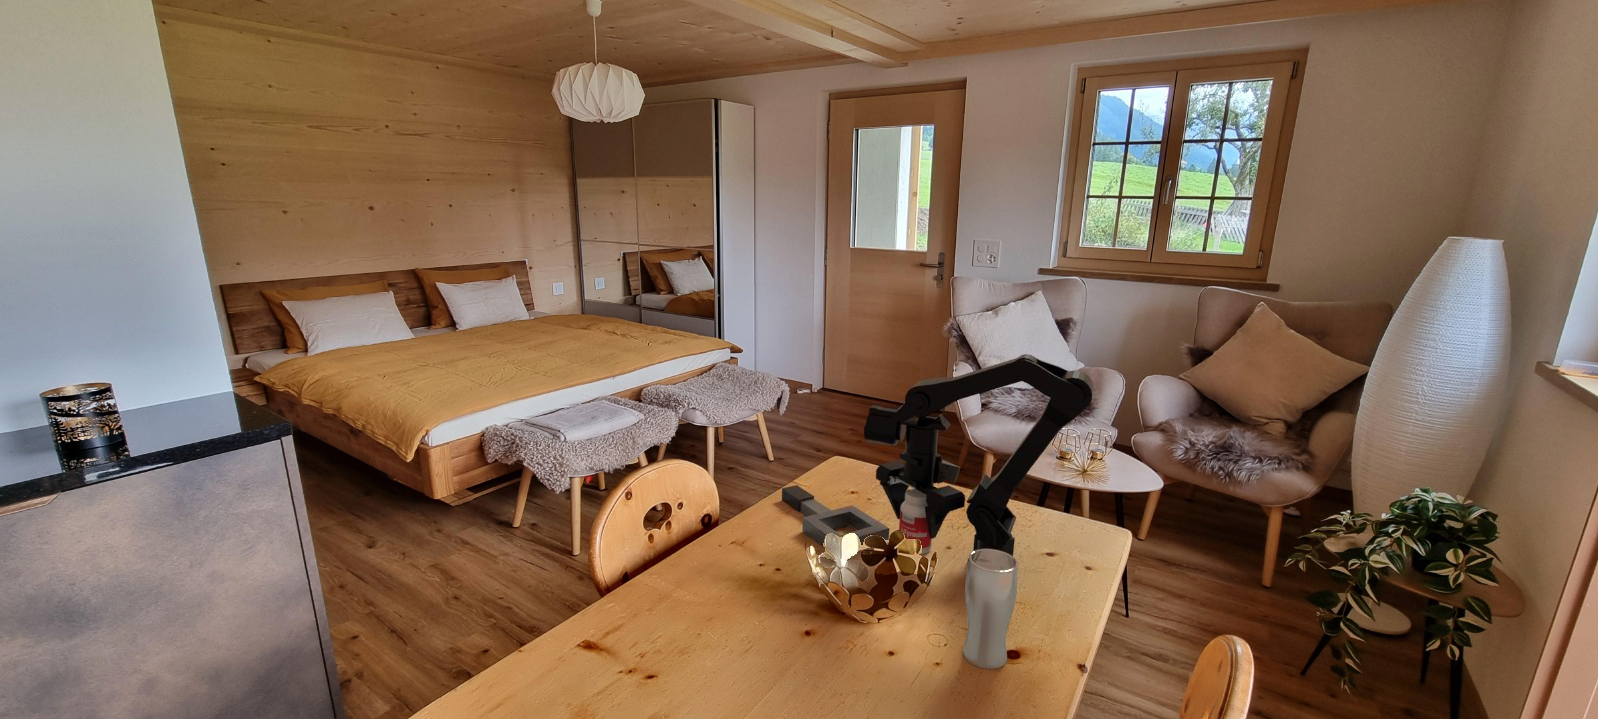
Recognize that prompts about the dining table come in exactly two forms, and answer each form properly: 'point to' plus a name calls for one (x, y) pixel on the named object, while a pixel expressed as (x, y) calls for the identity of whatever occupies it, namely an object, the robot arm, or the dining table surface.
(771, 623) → the dining table surface
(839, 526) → the socket
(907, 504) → the pill bottle
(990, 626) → the beer glass
